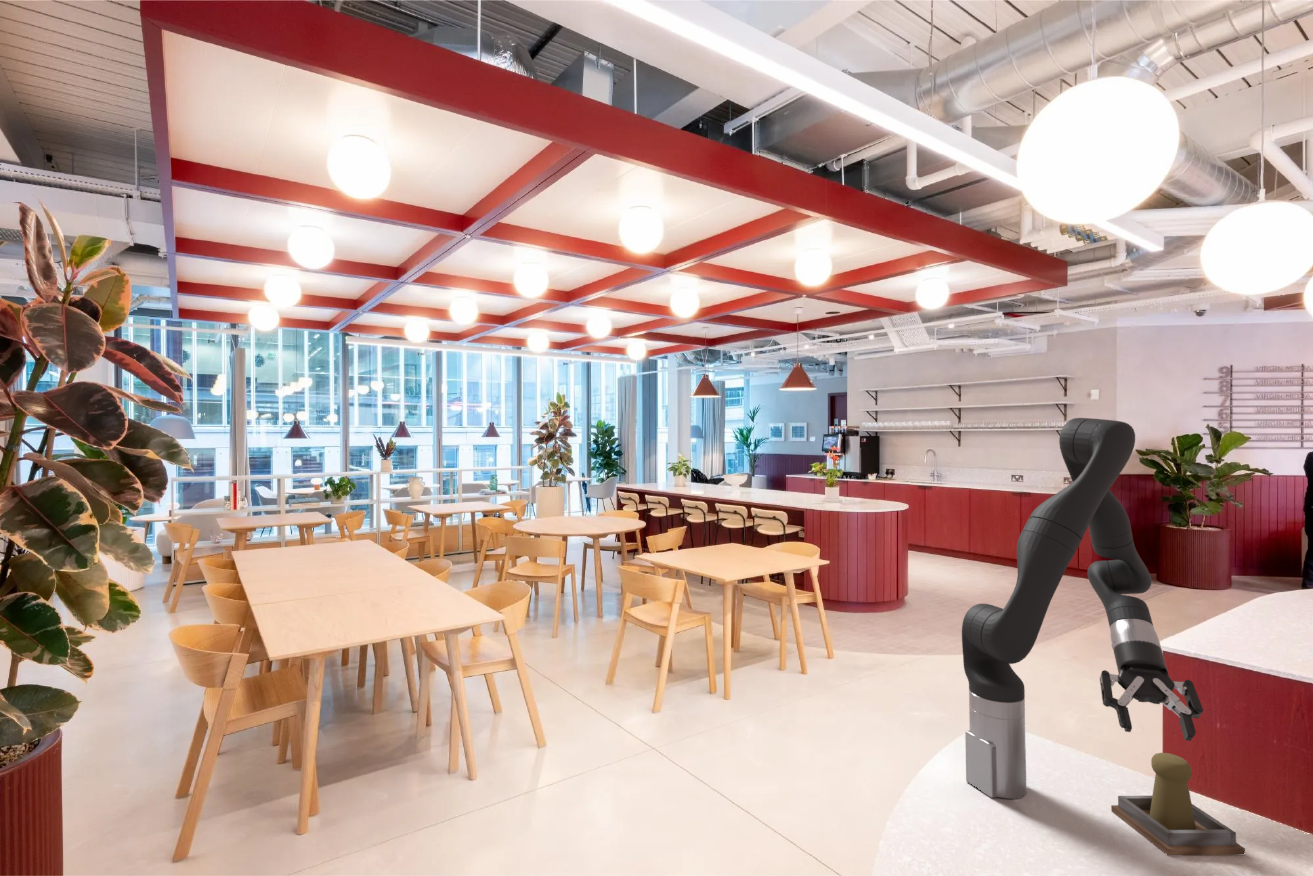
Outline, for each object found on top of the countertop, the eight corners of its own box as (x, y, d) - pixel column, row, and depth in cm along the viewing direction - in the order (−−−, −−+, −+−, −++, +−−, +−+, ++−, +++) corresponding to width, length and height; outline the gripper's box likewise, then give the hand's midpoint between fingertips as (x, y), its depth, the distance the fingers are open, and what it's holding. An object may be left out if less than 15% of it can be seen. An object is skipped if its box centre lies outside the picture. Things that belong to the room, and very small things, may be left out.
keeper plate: (1167, 855, 97) (1167, 836, 97) (1111, 811, 109) (1111, 793, 109) (1245, 854, 97) (1244, 835, 97) (1180, 810, 109) (1179, 793, 109)
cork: (1205, 836, 100) (1204, 767, 101) (1162, 832, 101) (1161, 763, 102) (1181, 815, 106) (1180, 749, 106) (1141, 811, 107) (1140, 746, 108)
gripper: (1095, 635, 121) (1113, 718, 110) (1188, 643, 115) (1216, 732, 105) (1089, 654, 126) (1105, 736, 115) (1178, 663, 120) (1204, 750, 109)
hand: (1158, 734), depth 110 cm, fingers open, 8 cm apart
